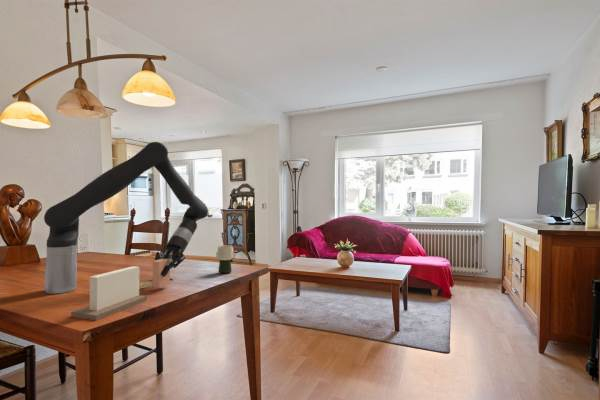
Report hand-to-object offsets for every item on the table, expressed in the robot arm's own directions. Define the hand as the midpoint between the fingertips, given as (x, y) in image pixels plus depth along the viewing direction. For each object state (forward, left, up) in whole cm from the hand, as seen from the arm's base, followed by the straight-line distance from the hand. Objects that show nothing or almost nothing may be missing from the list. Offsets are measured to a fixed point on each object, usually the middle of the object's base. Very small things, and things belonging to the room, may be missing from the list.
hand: (158, 275), depth 118 cm
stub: (0, +1, -4) cm, 5 cm away
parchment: (-12, +4, -6) cm, 14 cm away
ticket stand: (0, -20, -6) cm, 21 cm away
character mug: (+9, +34, -6) cm, 36 cm away
